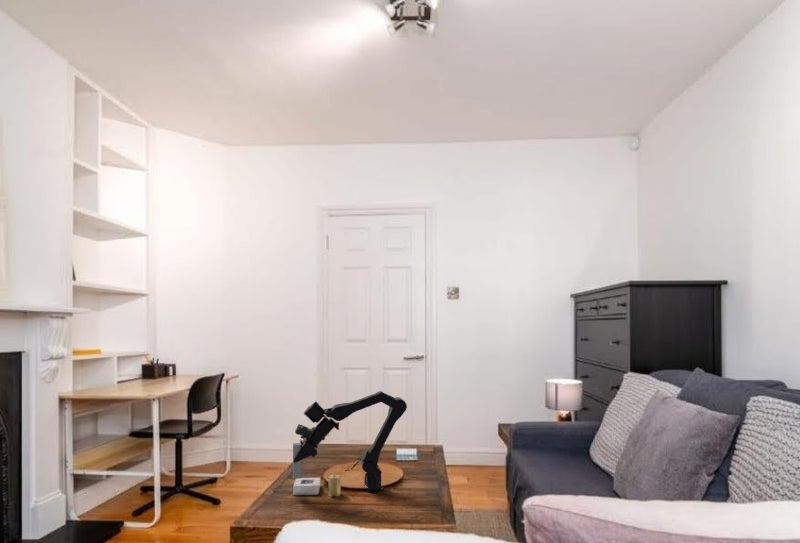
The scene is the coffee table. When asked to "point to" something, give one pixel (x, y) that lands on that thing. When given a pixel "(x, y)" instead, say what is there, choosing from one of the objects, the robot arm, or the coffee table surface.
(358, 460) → the tactical tomahawk
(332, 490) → the cross bit
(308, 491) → the bore block
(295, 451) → the square bit
